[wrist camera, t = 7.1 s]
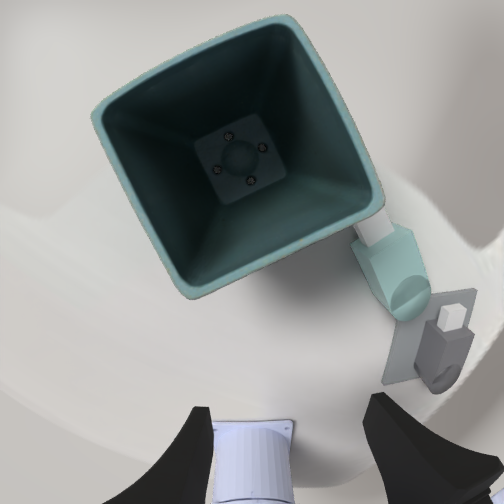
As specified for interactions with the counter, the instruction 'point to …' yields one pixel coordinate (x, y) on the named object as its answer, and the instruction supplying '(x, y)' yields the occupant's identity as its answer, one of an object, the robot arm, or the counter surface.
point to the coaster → (420, 334)
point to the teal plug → (392, 265)
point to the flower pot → (237, 154)
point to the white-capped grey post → (443, 348)
